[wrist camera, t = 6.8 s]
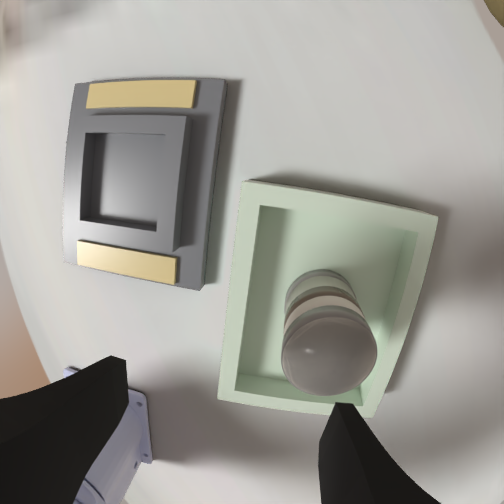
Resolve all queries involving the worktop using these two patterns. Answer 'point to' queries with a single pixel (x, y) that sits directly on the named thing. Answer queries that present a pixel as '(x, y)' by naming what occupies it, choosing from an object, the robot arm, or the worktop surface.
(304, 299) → the cylinder
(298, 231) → the parts tray
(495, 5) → the squeeze bottle
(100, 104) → the fuse holder
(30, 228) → the worktop surface
